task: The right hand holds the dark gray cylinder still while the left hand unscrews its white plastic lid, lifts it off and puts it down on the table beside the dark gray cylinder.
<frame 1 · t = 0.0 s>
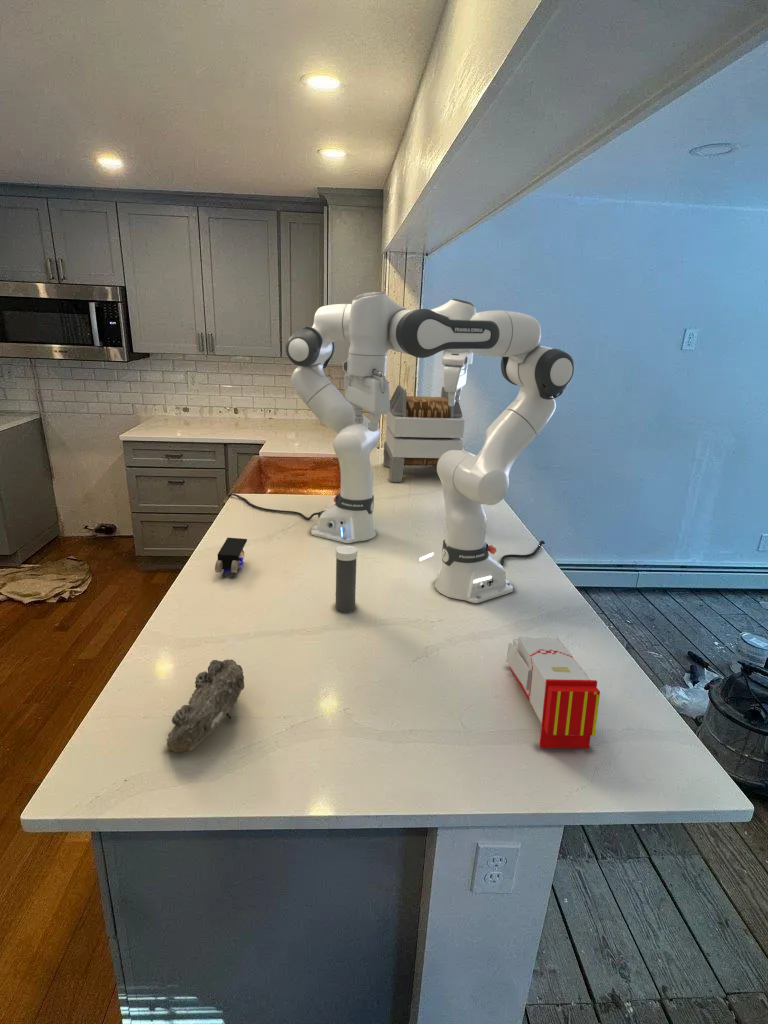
left hand: (454, 403, 174), 48 cm above the counter, tool pointing down, fingers open, 8 cm apart
right hand: (365, 426, 135), 48 cm above the counter, tool pointing down, fingers open, 8 cm apart
dark gray cylinder: (345, 607, 149), on the counter
toy: (542, 700, 117), on the counter
figurine character: (232, 569, 168), on the counter
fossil: (212, 717, 108), on the counter
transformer: (419, 473, 275), on the counter
lid: (346, 550, 144), point 16 cm above the counter, screwed on, not yet turned
figurine: (467, 525, 210), on the counter
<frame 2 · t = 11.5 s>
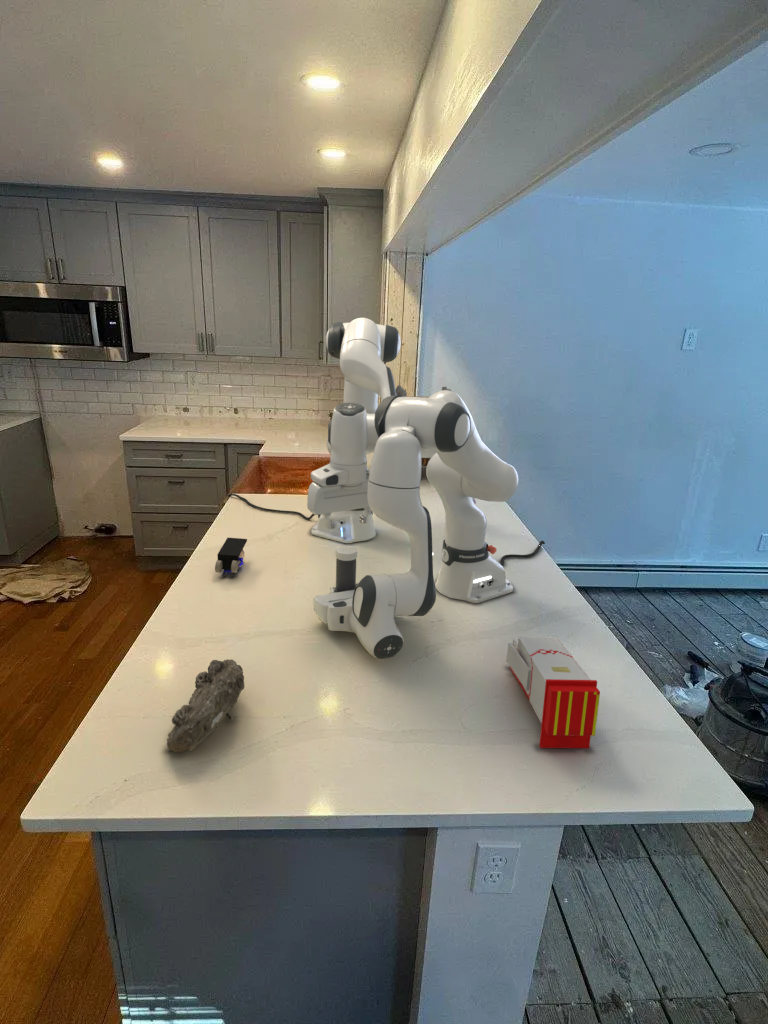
left hand: (347, 525, 142), 23 cm above the counter, tool pointing down, fingers open, 8 cm apart
right hand: (344, 587, 148), 5 cm above the counter, tool horizontal, fingers closed on dark gray cylinder, 5 cm apart
dark gray cylinder: (345, 607, 149), on the counter, touching right hand
everything else where it was.
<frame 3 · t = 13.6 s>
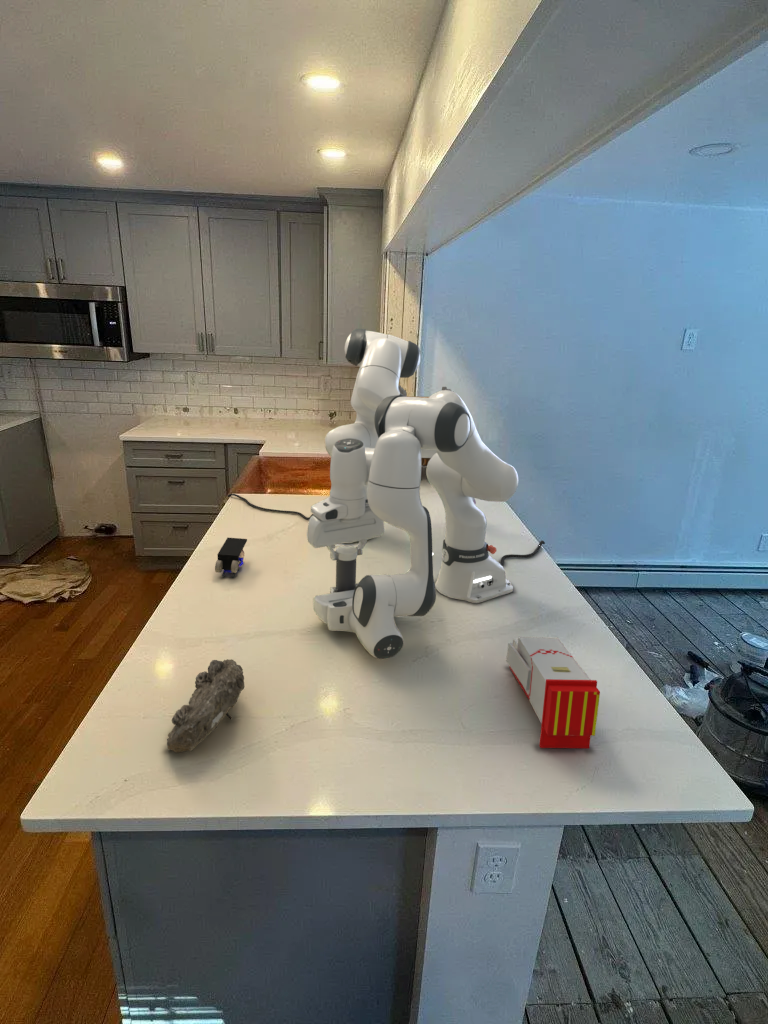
left hand: (346, 556, 144), 15 cm above the counter, tool pointing down, fingers closed on lid, 5 cm apart
right hand: (344, 587, 148), 5 cm above the counter, tool horizontal, fingers closed on dark gray cylinder, 5 cm apart
dark gray cylinder: (345, 607, 149), on the counter, touching right hand
lid: (346, 550, 144), point 16 cm above the counter, screwed on, not yet turned, touching left hand
everything else where it was.
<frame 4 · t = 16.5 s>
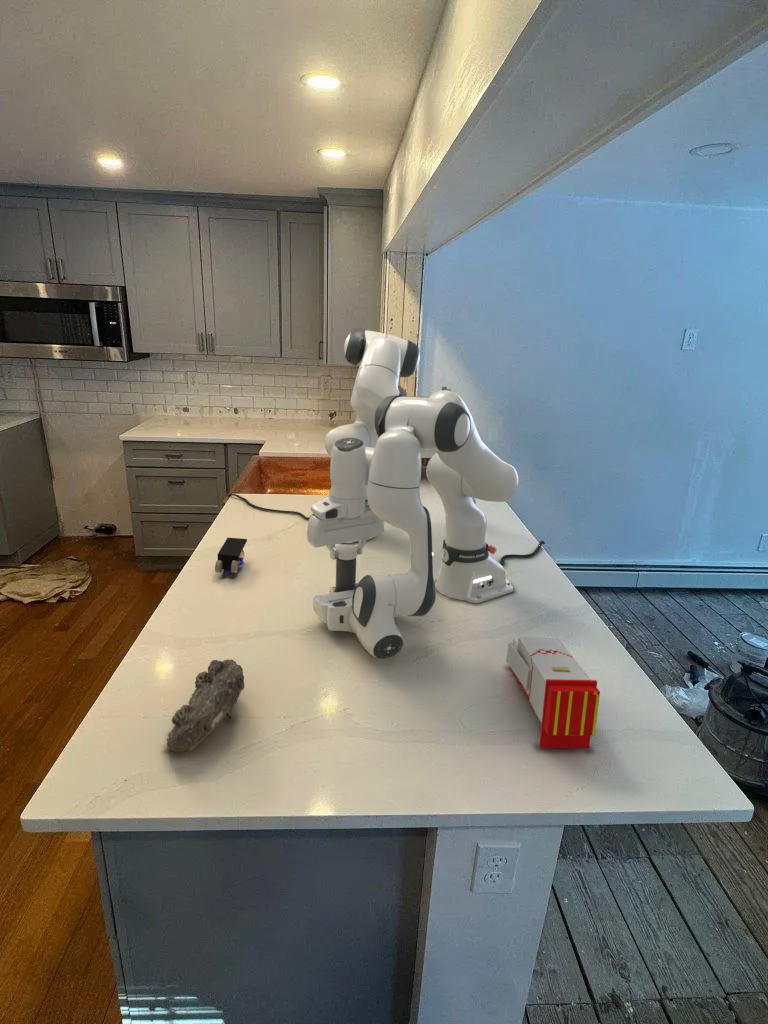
left hand: (346, 556, 144), 15 cm above the counter, tool pointing down, fingers closed on lid, 5 cm apart
right hand: (344, 587, 148), 5 cm above the counter, tool horizontal, fingers closed on dark gray cylinder, 5 cm apart
dark gray cylinder: (345, 607, 150), on the counter, touching right hand
lid: (346, 550, 144), point 17 cm above the counter, turned 74° so far, risen 0.2 cm, still on its thread, touching left hand
everything else where it was.
when the left hand's fingers open (2 cm above the counter, at t = 26.9 s): lid drops 2 cm, point 2 cm above the counter.
when the right hand's fingers open (5 cm above the counter, at t = 28.0 s): dark gray cylinder stays where it is, on the counter.
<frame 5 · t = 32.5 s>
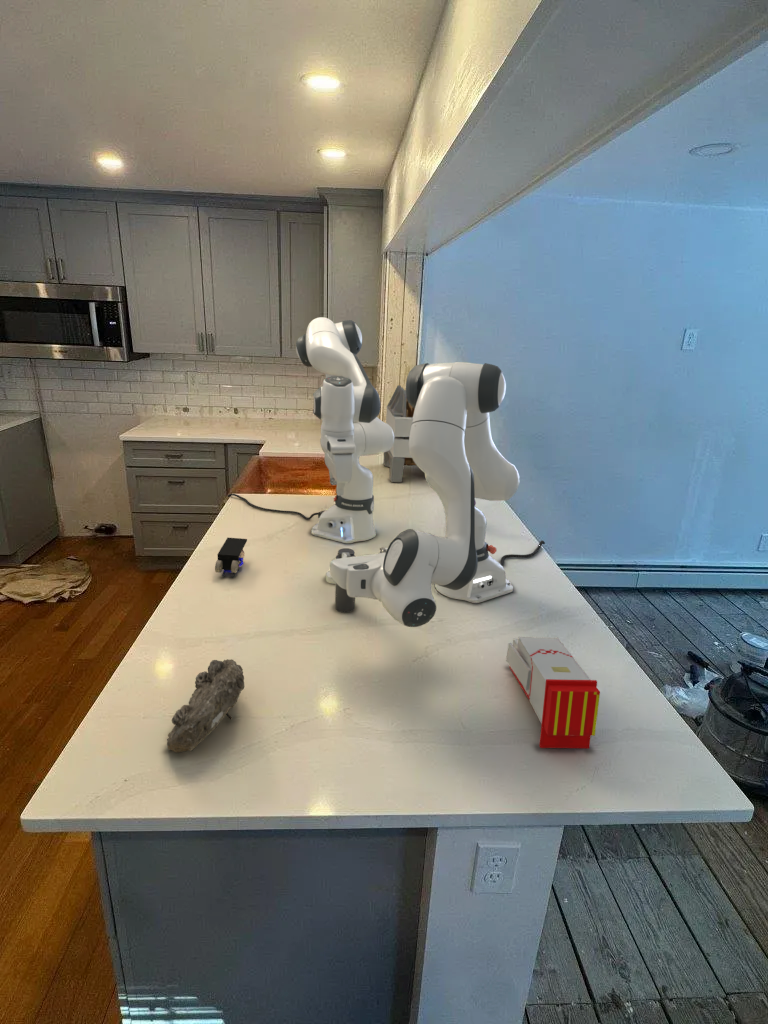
left hand: (336, 489, 155), 28 cm above the counter, tool pointing down, fingers open, 8 cm apart
right hand: (363, 552, 132), 21 cm above the counter, tool horizontal, fingers open, 8 cm apart
dark gray cylinder: (344, 607, 149), on the counter
lid: (335, 574, 164), point 2 cm above the counter, off its thread
everything else where it was.
at the end: lid came off its thread; lid point 1.5 cm above the counter; the left hand is holding nothing; the right hand is holding nothing; dark gray cylinder tilted 0°; dark gray cylinder moved 0.1 cm from its start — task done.
